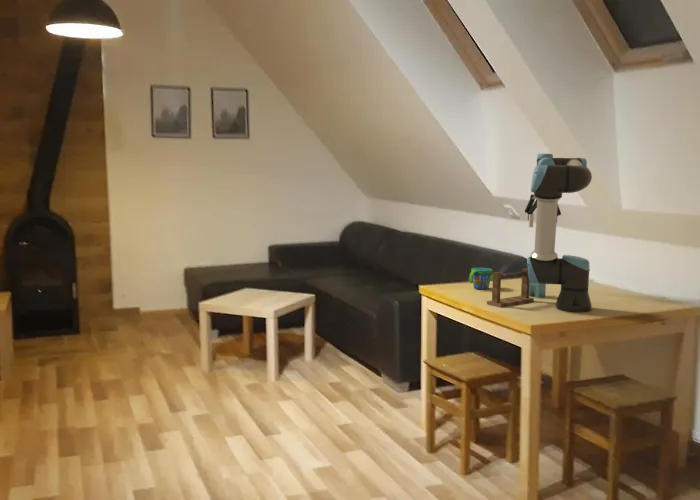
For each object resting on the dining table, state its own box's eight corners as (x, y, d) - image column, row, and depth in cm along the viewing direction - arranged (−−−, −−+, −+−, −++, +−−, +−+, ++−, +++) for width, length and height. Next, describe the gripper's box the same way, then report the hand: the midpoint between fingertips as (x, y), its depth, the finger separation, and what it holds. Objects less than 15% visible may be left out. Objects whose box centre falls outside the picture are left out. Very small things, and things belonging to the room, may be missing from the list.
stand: (520, 298, 344) (521, 267, 342) (533, 301, 337) (535, 269, 335) (486, 304, 330) (488, 271, 328) (500, 307, 324) (501, 274, 322)
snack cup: (486, 285, 378) (487, 266, 376) (499, 289, 369) (500, 269, 367) (462, 288, 370) (463, 268, 369) (475, 291, 361) (476, 271, 360)
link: (533, 294, 355) (534, 278, 354) (545, 296, 349) (545, 280, 348) (526, 295, 352) (527, 279, 351) (538, 298, 346) (539, 281, 345)
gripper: (518, 184, 363) (516, 226, 366) (560, 186, 344) (557, 231, 346) (528, 184, 368) (526, 225, 371) (569, 186, 348) (567, 230, 351)
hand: (541, 228), depth 359 cm, fingers open, 13 cm apart
